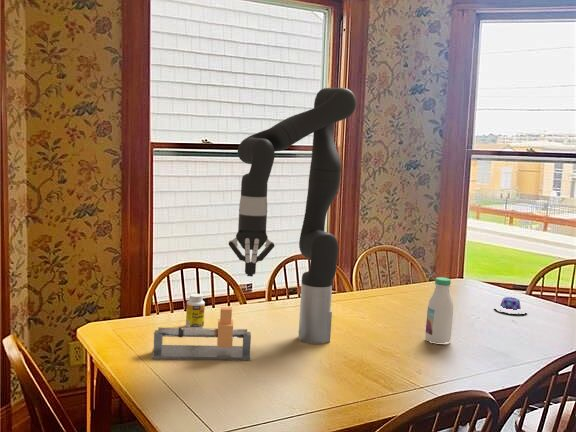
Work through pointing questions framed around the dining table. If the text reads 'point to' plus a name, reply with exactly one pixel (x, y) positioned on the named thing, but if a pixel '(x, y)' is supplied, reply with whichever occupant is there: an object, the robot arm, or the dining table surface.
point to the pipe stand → (196, 350)
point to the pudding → (510, 303)
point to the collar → (225, 328)
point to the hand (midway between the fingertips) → (249, 275)
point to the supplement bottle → (195, 311)
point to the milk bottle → (440, 313)
